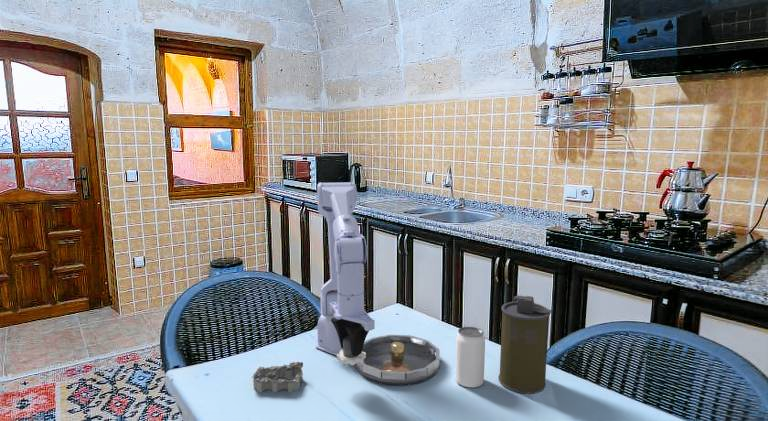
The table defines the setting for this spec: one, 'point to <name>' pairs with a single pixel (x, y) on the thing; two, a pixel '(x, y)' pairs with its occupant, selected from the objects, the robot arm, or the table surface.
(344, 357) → the gear
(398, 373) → the bowl
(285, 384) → the egg carton
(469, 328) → the can
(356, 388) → the table surface
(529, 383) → the canister
